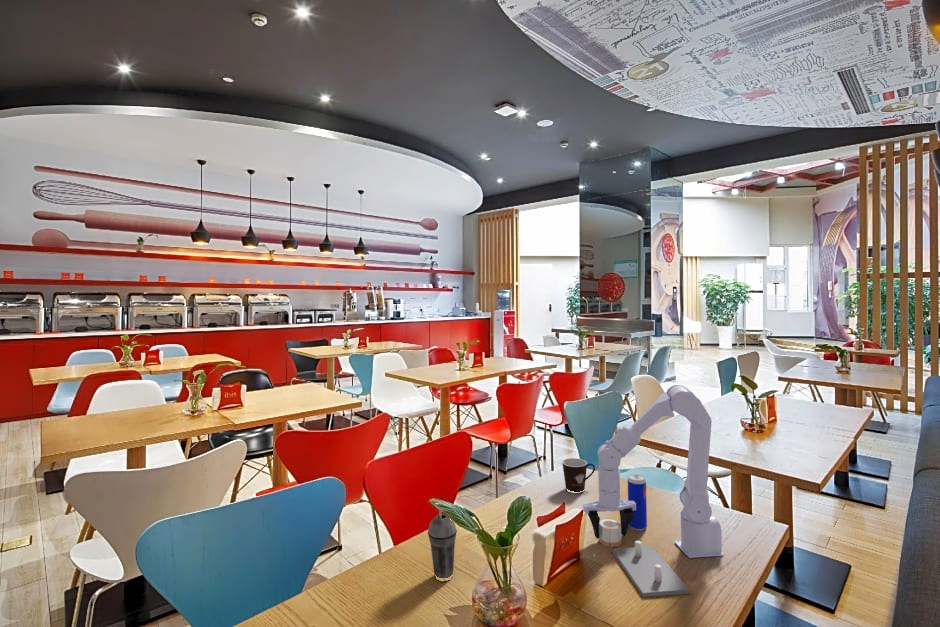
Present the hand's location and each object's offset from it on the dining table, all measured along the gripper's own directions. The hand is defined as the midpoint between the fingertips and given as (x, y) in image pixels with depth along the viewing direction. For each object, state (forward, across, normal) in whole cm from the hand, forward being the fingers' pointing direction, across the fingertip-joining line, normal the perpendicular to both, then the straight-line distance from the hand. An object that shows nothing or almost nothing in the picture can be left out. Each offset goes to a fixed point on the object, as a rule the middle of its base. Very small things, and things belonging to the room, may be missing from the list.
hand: (610, 535), depth 133 cm
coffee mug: (+2, -2, -35) cm, 35 cm away
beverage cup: (+2, +47, +11) cm, 48 cm away
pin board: (+2, -4, +15) cm, 16 cm away
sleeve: (+2, 0, 0) cm, 2 cm away
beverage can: (+2, -11, -7) cm, 13 cm away
